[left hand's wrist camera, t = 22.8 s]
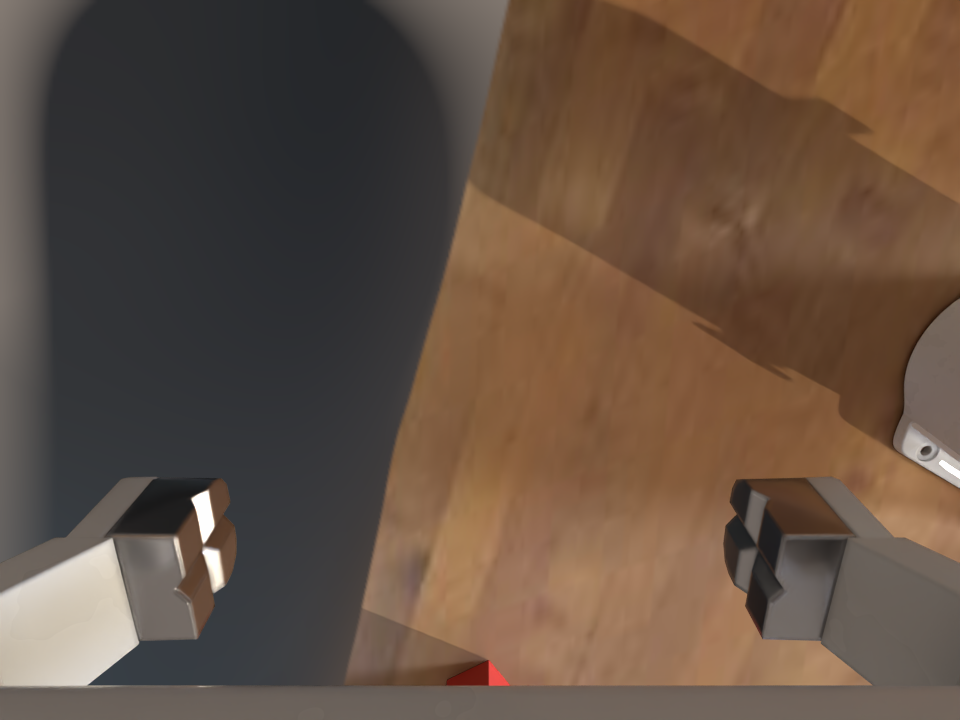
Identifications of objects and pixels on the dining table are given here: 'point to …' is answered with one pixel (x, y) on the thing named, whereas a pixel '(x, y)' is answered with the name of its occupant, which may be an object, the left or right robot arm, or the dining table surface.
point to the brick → (479, 677)
